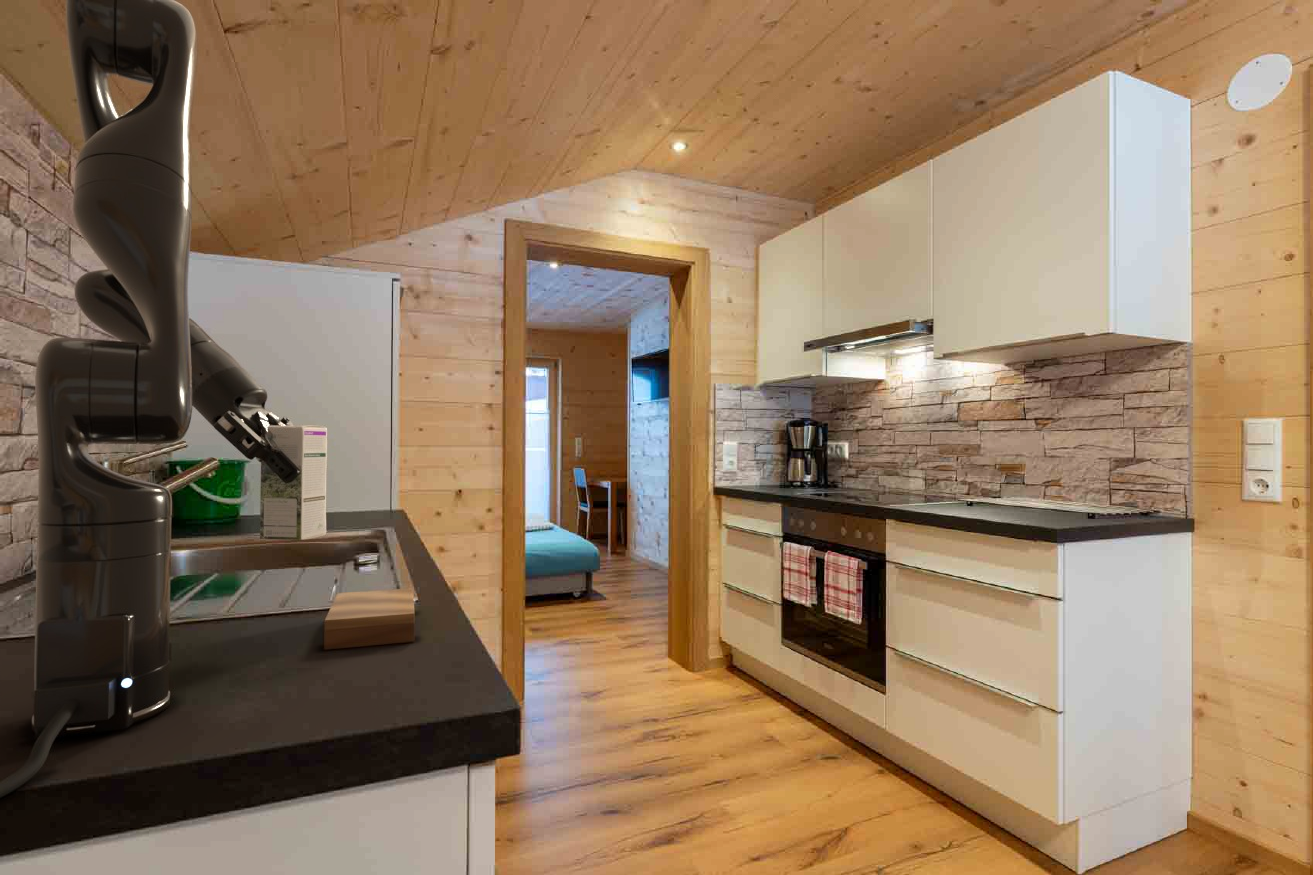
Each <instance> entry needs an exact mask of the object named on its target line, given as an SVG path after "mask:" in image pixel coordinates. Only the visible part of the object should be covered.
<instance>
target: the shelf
mask: <svg viewBox="0 0 1313 875" xmlns="http://www.w3.org/2000/svg"><path fill="white" fill-rule="evenodd" d="M415 614H416V613H415V600H414V588H413V587H411V588H399V589H398V588H396V589H395V588H393V589H381V590H366V591H364V590H363V591H350V592H337V593H336V595H335V597H334V599H333V601H332V603H331V606H330V608H329V610H328V612H327V614H326V617H325V618H324V621H323V622H324V628H323V629H324V631H323V633H324V634H323V650H324V651H326V650H327V651H328V650H339V649H349V648H360V647H361V648H362V647H369V646H370V647H372V646H380V645H393V644H403V643H404V644H405V643H414V642H415V620H416V617H415V616H416V615H415Z"/></svg>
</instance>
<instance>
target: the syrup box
mask: <svg viewBox="0 0 1313 875" xmlns="http://www.w3.org/2000/svg"><path fill="white" fill-rule="evenodd" d="M267 427H268V429H269V430H270V431H271V432H272V434H273V440H274V442H275V443H276V445H277V446H278V448H279V450H278V451H282V452H283V453H284V454H285V455H286V456H287V457H288V458H289V459H290V460H291V461H292V462H293V463H294V464H295V465H296V466H297V467H298V468H299V470H300V474H299V475H298V476H297V477H296V478H295V479H294V480H293V481H292V482H291V483H284V482H283V481H282V480H281V479H280V478H279V477H278V476H277V475H276V474H275V473H274V472H273V471H272V470H271V469H270V468H269V467H268V466H267V465H266V464H265V463H266V462H265V463H261V462H260V488H259V489H260V501H259V502H260V503H259V505H260V506H259V507H260V508H259V539H260V540H278V541H279V540H282V541H283V540H285V541H286V540H287V541H289V540H290V541H303V540H310V539H315V538H319V537H323V536H326V535H327V469H328V468H327V467H328V466H327V464H328V428H327V427H325V426H322V425H315V424H314V425H313V424H312V425H306V424H305V425H303V424H302V425H299V424H298V425H297V424H296V425H295V424H294V425H285V426H267ZM261 433H262V429H261ZM278 451H277V452H278Z"/></svg>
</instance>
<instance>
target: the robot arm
mask: <svg viewBox="0 0 1313 875" xmlns="http://www.w3.org/2000/svg"><path fill="white" fill-rule="evenodd" d="M65 27H66V38H67V45H68V51H69V58H70V59H69V60H70V65H71V72H72V73H71V74H72V79H73V85H74V86H73V87H74V91H75V98H76V103H77V104H76V105H77V109H78V110H77V111H78V116H79V121H80V128H81V131H82V137H83V141H84V144H83V145H82V147H81V148H80V151H79V152H78V154H77V157H76V161H75V162H76V163H75V172H74V187H73V198H72V201H73V202H72V213H73V214H72V215H73V218H74V221H75V224H76V226H77V229H78V231H79V232H80V234H81V236H82V237H83V239H84V240H85V243H87V244H88V246H89V247H90V248H91V250H92V251H93V252H94V254H95V255H96V256H97V258H98V259H99V260H100V261H101V262H102V263H103V265H104V266H105V267H106V268H107V269H99V270H92V271H89V272H86V273H84V274H82V275H81V276H80V277H79V278H78V279H76V282H75V284H74V298H75V301H76V304H77V306H78V308H79V309H80V311H81V312H82V313H83V315H84V316H85V317H86V318H87V319H88V320H89V321H90V322H92V323H93V324H94V325H95V326H96V327H97V328H99V329H100V330H102V331H104V332H105V333H107V334H109V335H110V336H112V337H114V338H116V339H117V340H109V339H108V340H107V339H94V338H83V337H55V338H52V339H50V340H48V341H47V342H46V343H44V345H42V346H43V347H42V348H41V350H40V351H39V354H38V356H37V359H36V367H35V375H34V376H35V377H34V384H35V385H34V386H35V390H34V391H35V395H34V396H35V410H36V428H37V446H38V448H37V449H38V485H37V486H38V487H37V488H38V491H37V523H38V524H37V525H36V526H37V530H36V533H37V534H36V563H35V564H36V565H35V566H36V567H35V612H34V613H35V618H34V627H35V628H34V661H33V662H34V669H33V682H34V683H33V715H32V717H31V731H32V732H33V733H34V740H36V741H35V743H34V744H33V747H32V749H31V752H30V755H29V756H28V758H27V761H26V762H25V763H24V764H23V765H22V766H21V767H20V768H18V769H17V770H16V771H15V772H14V773H12V774H10V775H9V776H8V777H6V778H4V779H2V780H1V781H0V799H1V798H3V797H5V796H8V795H9V794H10V793H13V792H14V791H15V790H17V789H18V788H20V787H22V786H23V785H24V784H25V783H27V782H28V781H29V780H31V779H32V778H33V777H34V776H35V775H36V774H37V773H38V772H39V771H40V770H41V769H42V767H43V766H44V764H45V763H46V760H47V758H48V756H49V753H50V750H51V747H52V746H53V743H54V741H55V740H56V738H61V737H71V736H79V735H88V734H96V733H103V732H113V731H121V730H127V729H128V728H130V726H132V725H133V724H135V723H138V722H141V721H143V720H146V719H148V718H151V717H153V716H155V715H157V714H159V713H160V712H163V711H164V710H165V709H167V707H168V706H170V703H171V690H170V661H172V643H171V642H170V628H171V627H170V626H171V624H170V623H171V620H170V619H171V564H172V563H171V562H172V559H171V558H172V515H173V514H172V512H173V500H172V499H173V498H172V497H173V496H172V493H171V491H170V490H169V489H168V488H167V487H165V486H163V485H161V484H158V483H155V482H149V481H146V480H141V479H137V478H133V477H130V476H127V475H124V474H121V473H119V472H116V471H114V470H111V469H110V468H109V467H106V466H104V465H102V464H101V463H99V462H98V461H96V460H95V459H94V458H93V457H92V456H91V455H90V452H89V448H88V447H89V445H91V444H92V445H93V444H95V445H137V444H139V445H164V444H175V443H177V442H179V441H181V440H182V439H183V438H184V437H185V436H186V434H187V433H188V430H189V428H190V425H191V420H192V416H193V408H194V409H195V410H196V411H197V412H198V413H199V414H200V415H201V416H202V417H203V418H204V419H205V420H206V421H207V422H208V423H209V425H211V427H213V429H215V430H216V431H217V432H218V433H219V434H220V435H221V436H222V437H223V438H224V439H225V440H226V441H228V442H229V443H230V444H231V445H232V446H233V447H234V448H235V449H236V450H237V451H238V452H240V453H241V454H242V455H243V456H244V457H245V458H246V459H248V460H249V461H250V460H251V461H253V460H254V459H255V458H256V461H258V462H259V463H260V464H261V463H265V462H266V463H265V464H266V465H267V466H268V467H269V468H270V469H271V470H272V471H273V472H274V473H275V474H276V475H277V476H278V477H279V478H280V479H281V480H282V481H283V482H284V483H291V482H292V481H293V480H294V479H295V478H296V477H297V476H298V475H299V474H300V470H299V468H298V467H297V466H296V465H295V464H294V463H293V462H292V461H291V460H290V459H289V458H288V457H287V456H286V455H285V454H284V453H283V452H282V451H278V450H279V448H278V446H277V445H276V443H275V442H274V440H273V434H272V432H271V431H270V430H269V429H268V427H267V426H285V425H295V423H294V422H292V420H291V419H290V418H289V417H286V416H283V417H282V418H279V416H277V415H276V414H275V413H273V412H271V411H268V410H266V408H265V407H266V402H267V400H268V392H267V390H266V389H265V388H264V387H263V386H262V385H261V384H260V383H259V382H258V381H257V380H256V379H255V377H253V376H252V375H251V374H250V373H249V372H248V371H247V370H246V369H245V368H244V367H243V366H242V365H241V364H240V363H239V361H237V360H236V358H234V356H232V355H231V354H230V353H229V352H227V351H226V350H225V349H223V347H221V346H219V344H217V343H216V341H215V340H214V339H213V338H211V336H210V335H209V334H208V333H207V332H206V331H205V330H204V329H203V328H202V327H201V326H200V325H198V323H197V322H195V321H194V320H193V319H192V318H190V315H189V314H190V313H189V272H190V270H189V269H190V254H191V241H192V240H191V237H192V219H193V218H192V217H193V216H192V214H193V187H192V185H193V184H192V157H191V156H192V155H191V154H192V152H191V150H192V149H191V148H192V147H191V136H192V135H191V134H192V133H191V132H192V131H191V130H192V116H193V105H194V95H195V85H196V77H197V75H196V74H197V64H198V51H199V50H198V34H197V27H196V24H195V20H194V18H193V16H192V13H191V12H190V11H189V9H188V8H187V7H185V5H183V4H182V3H180V2H178V1H176V0H65ZM110 75H111V76H118V77H120V78H124V79H127V80H131V81H135V82H138V83H142V84H146V85H149V86H152V87H150V88H151V89H150V90H149V92H148V93H147V94H146V96H145V97H143V98H142V100H141V101H139V102H138V104H136V105H135V106H133V107H132V108H131V109H129V110H128V111H126V112H125V113H123V114H121V115H120V112H119V110H118V108H117V105H116V103H115V100H114V97H113V94H112V89H111V84H110ZM261 429H262V433H261ZM277 451H278V452H277Z"/></svg>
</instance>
